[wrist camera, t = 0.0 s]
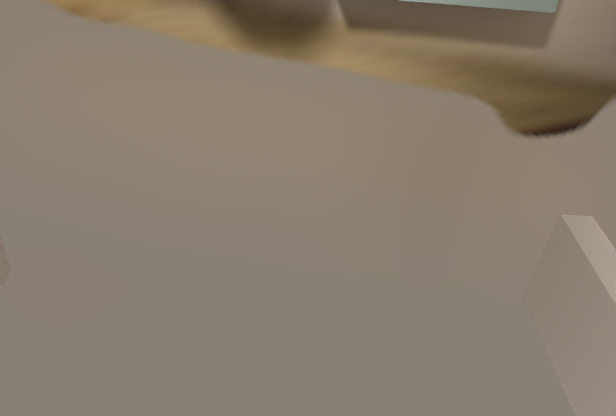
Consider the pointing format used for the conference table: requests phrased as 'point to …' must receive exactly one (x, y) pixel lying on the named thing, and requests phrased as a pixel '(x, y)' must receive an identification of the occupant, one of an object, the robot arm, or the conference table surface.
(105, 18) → the conference table surface
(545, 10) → the tray
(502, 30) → the conference table surface
